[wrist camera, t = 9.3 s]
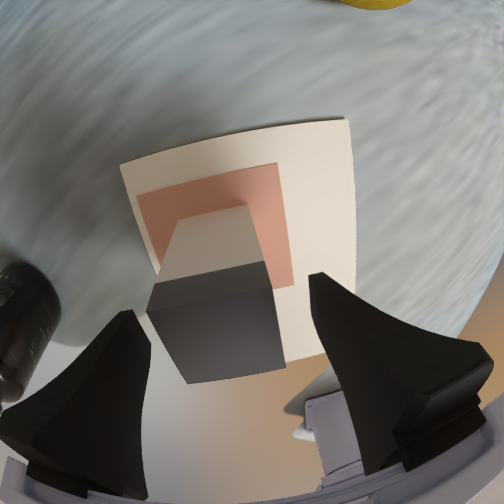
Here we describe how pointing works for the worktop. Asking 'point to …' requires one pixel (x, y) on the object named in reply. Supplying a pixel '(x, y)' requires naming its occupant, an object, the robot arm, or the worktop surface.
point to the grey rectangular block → (216, 299)
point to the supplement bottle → (23, 326)
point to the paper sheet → (262, 207)
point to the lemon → (375, 4)
